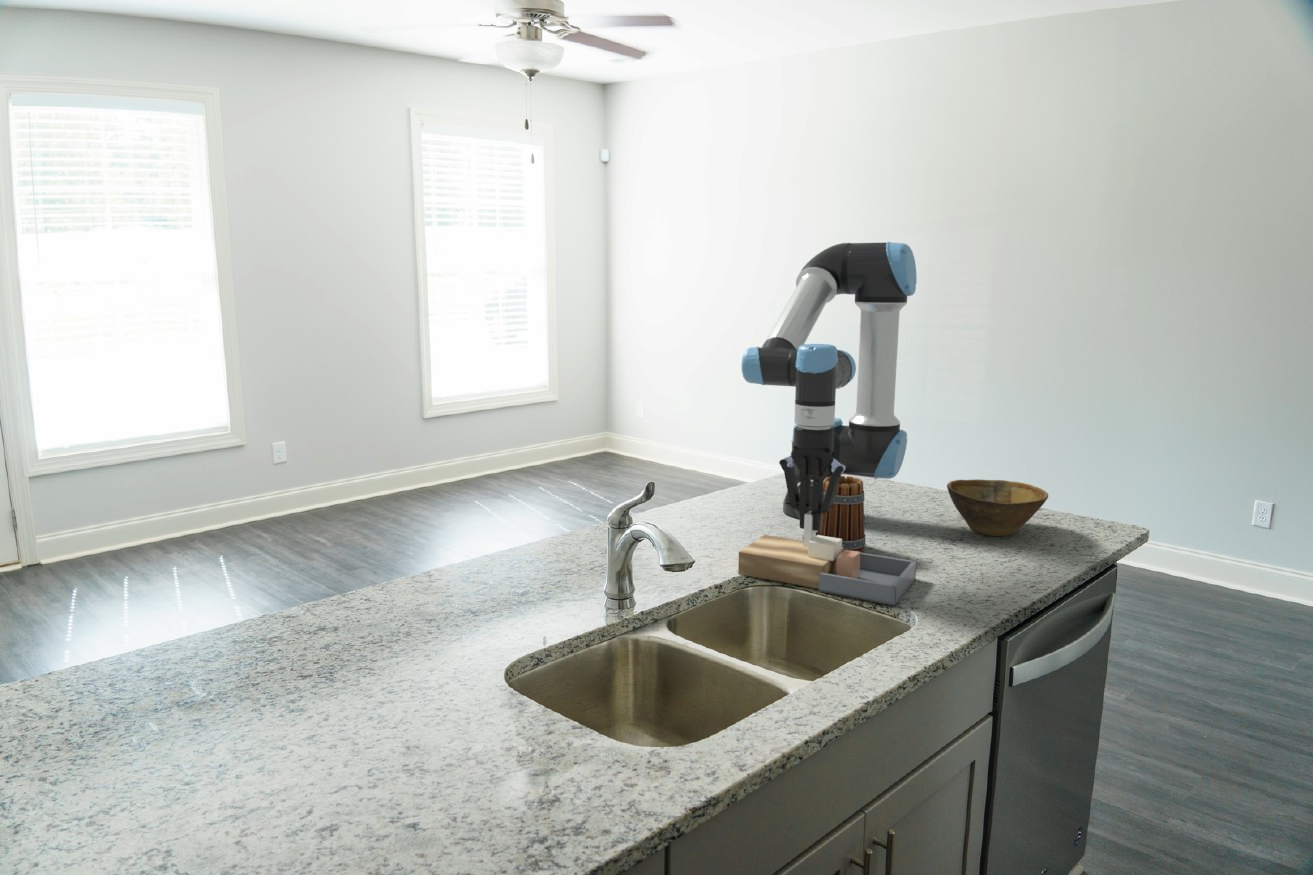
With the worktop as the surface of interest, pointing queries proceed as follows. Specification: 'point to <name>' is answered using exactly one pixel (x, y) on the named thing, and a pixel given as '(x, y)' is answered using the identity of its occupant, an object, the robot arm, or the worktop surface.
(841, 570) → the tile terracotta
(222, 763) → the worktop surface
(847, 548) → the mug
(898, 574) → the tray
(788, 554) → the oak board
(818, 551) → the tile cream
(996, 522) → the bowl
